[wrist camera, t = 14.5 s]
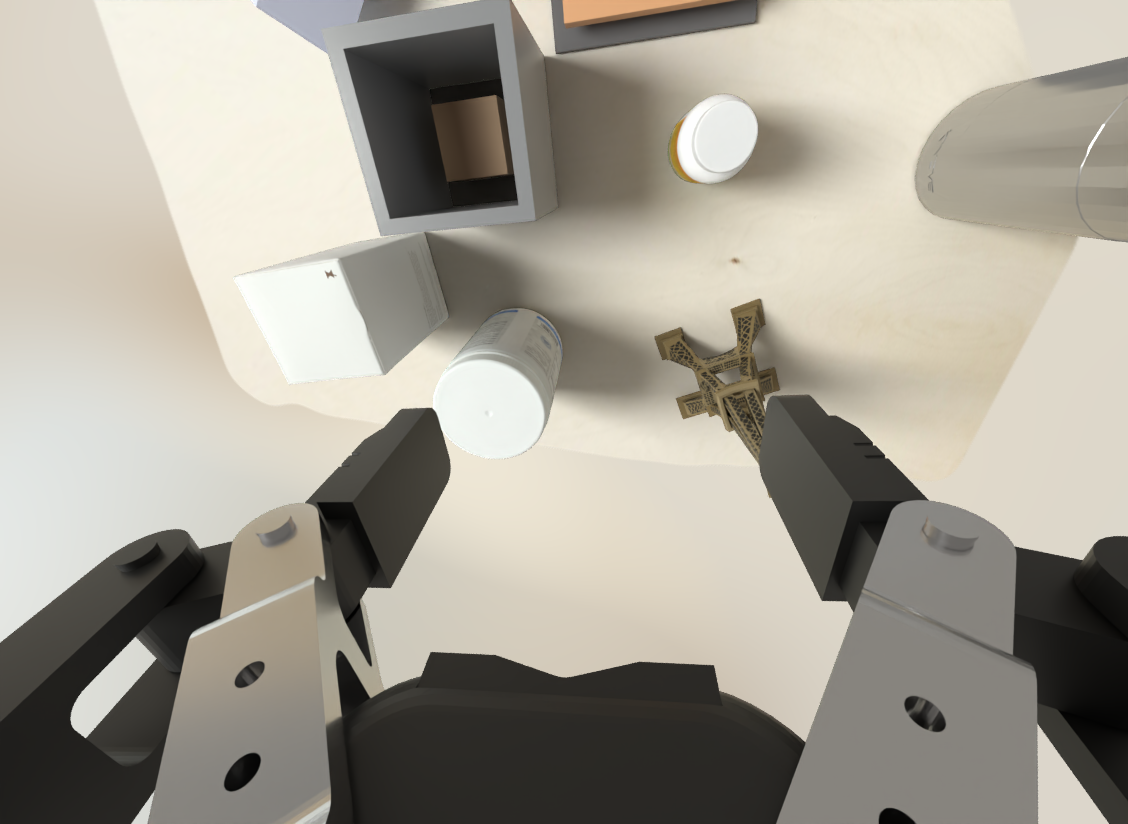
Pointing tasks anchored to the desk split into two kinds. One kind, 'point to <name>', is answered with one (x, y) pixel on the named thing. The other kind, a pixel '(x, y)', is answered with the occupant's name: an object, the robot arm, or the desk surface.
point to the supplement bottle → (713, 140)
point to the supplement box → (347, 307)
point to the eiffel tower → (734, 400)
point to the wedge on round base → (312, 15)
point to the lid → (621, 9)
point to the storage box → (405, 120)
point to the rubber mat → (650, 25)
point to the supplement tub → (501, 385)
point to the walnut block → (474, 138)
